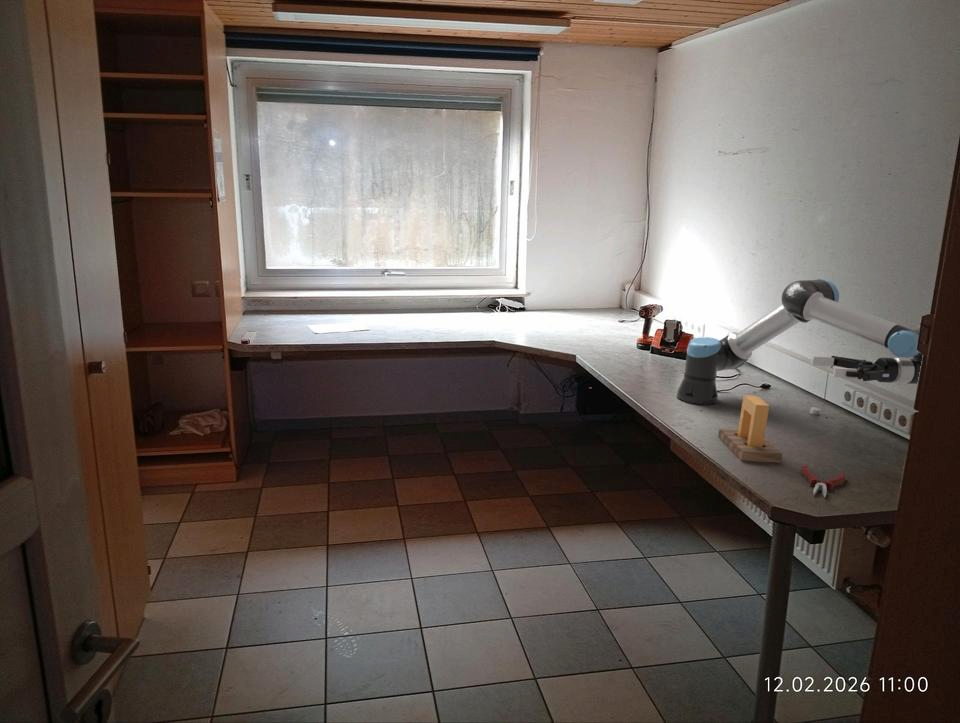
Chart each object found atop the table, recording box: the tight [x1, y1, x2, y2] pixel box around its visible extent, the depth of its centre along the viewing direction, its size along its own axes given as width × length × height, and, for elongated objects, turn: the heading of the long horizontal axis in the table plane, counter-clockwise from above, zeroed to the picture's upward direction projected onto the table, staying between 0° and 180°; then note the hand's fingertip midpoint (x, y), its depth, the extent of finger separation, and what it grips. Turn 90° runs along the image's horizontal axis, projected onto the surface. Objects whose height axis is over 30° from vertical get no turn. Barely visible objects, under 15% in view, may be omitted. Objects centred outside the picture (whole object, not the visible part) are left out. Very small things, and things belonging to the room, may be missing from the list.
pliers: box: [800, 463, 846, 498], centre depth 189 cm, size 11×20×3 cm, turn 151°
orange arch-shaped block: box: [737, 394, 770, 447], centre depth 212 cm, size 10×4×16 cm, turn 0°
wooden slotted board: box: [717, 427, 783, 464], centre depth 214 cm, size 20×12×3 cm, turn 0°
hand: (822, 366), depth 207 cm, fingers open, 13 cm apart
